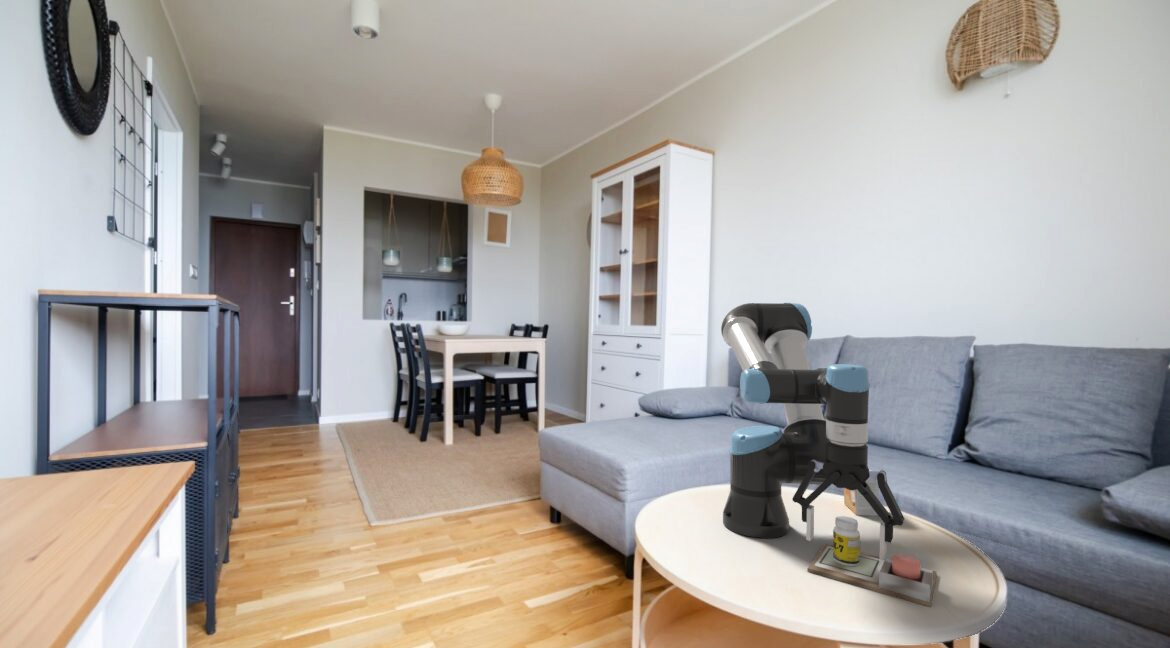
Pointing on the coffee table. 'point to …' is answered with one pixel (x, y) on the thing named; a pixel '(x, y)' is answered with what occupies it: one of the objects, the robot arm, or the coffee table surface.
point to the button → (906, 567)
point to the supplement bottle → (846, 541)
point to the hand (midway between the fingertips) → (845, 547)
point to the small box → (861, 499)
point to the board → (875, 576)
